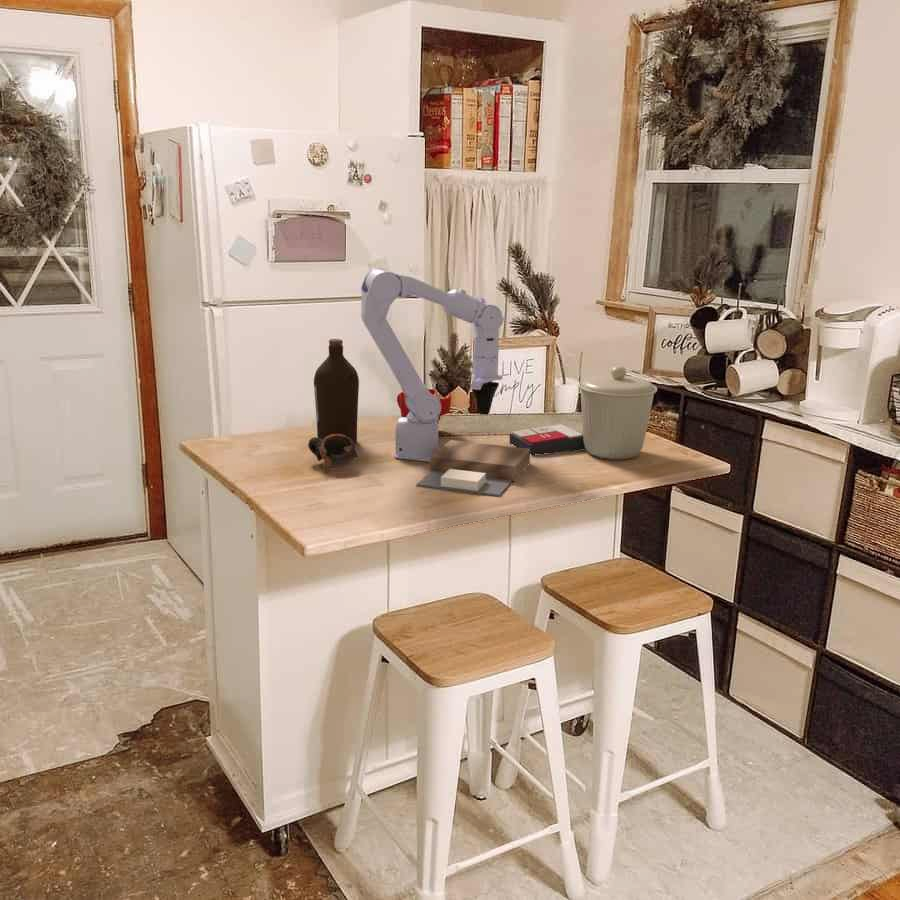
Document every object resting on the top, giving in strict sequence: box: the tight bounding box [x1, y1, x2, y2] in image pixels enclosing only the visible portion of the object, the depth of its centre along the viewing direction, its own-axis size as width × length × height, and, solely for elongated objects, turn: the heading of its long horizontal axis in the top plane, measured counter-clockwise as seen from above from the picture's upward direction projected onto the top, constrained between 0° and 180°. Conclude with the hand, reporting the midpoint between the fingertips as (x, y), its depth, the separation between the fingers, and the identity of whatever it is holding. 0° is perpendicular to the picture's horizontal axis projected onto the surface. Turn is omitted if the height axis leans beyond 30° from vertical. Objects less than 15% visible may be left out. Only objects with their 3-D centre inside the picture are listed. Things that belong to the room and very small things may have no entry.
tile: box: [441, 469, 486, 491], centre depth 187 cm, size 8×6×2 cm
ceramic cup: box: [396, 388, 452, 424], centre depth 226 cm, size 13×17×10 cm
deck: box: [429, 439, 531, 482], centre depth 199 cm, size 19×14×4 cm
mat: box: [415, 471, 512, 497], centre depth 189 cm, size 18×10×1 cm, turn 72°
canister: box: [577, 365, 658, 461], centre depth 209 cm, size 18×18×21 cm
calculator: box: [509, 424, 586, 456], centre depth 217 cm, size 11×4×15 cm
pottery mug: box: [307, 434, 359, 473], centre depth 198 cm, size 12×10×8 cm
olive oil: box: [313, 338, 360, 448], centre depth 213 cm, size 11×11×25 cm
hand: (484, 413), depth 208 cm, fingers closed
